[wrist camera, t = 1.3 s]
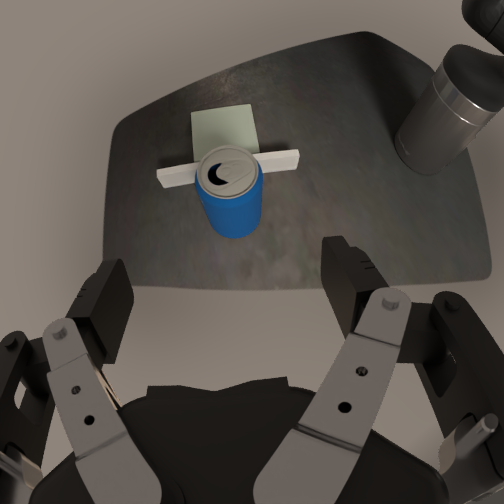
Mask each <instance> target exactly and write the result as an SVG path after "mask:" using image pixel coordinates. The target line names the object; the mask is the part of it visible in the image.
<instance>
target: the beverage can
mask: <svg viewBox="0 0 504 504" xmlns="http://www.w3.org/2000/svg"><path fill="white" fill-rule="evenodd" d="M262 184H263V173H262V169H261V166H260V164H259V163H258V161H257V160H256V159H255V157H254V156H253V155H252V154H251V153H250V152H249V151H248V150H246V149H244V148H242V147H240V146H236V145H223V146H219V147H216V148H214V149H212V150H210V151H209V152H207V153H206V154H205V155H204V156H203V157H202V159H201V160H200V162H199V164H198V167H197V170H196V173H195V186H196V189H197V192H198V194H199V197H200V199H201V202H202V204H203V207H204V209H205V211H206V214H207V216H208V219H209V221H210V224H211V226H212V227H213V229H214V230H215V231H216V232H217V233H219V234H220V235H222V236H224V237H227V238H241V237H244V236H246V235H248V234H250V233H251V232H252V231H253V230H254V229H255V228H256V227H257V225H258V223H259V221H260V216H261V201H262Z"/></svg>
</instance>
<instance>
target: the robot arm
mask: <svg viewBox="0 0 504 504" xmlns="http://www.w3.org/2000/svg"><path fill="white" fill-rule="evenodd" d="M462 14H463V18H464V20H465V21H466V22H467V23H468V25H469V26H470V27H471V28H472V29H474V30H475V31H476V32H477V33H478V34H479V35H481V36H482V37H483V38H485V39H486V40H487V41H488V42H489V43H491V44H492V45H493V46H494V47H495V48H497V49H498V50H499V51H500V52H502V54H504V0H463V1H462ZM503 107H504V56H498V55H492V54H489V53H486V52H483V51H481V50H479V49H476V48H473V47H470V46H467V45H462V44H459V45H454V46H452V47H451V48H450V49H449V51H448V52H447V54H446V55H445V57H444V59H443V61H442V62H441V64H440V66H439V67H438V69H437V70H436V72H435V74H434V75H433V77H432V79H431V80H430V82H429V83H428V85H427V87H426V88H425V90H424V91H423V93H422V94H421V96H420V97H419V99H418V101H417V102H416V104H415V105H414V107H413V108H412V110H411V111H410V113H409V114H408V116H407V117H406V119H405V120H404V122H403V123H402V125H401V126H400V128H399V129H398V131H397V133H396V135H395V139H394V140H395V147H396V150H397V152H398V154H399V156H400V157H401V159H402V160H403V161H404V163H405V164H406V165H407V166H409V167H410V168H411V169H412V170H414V171H416V172H418V173H420V174H423V175H433V174H436V173H437V172H439V171H440V170H441V169H442V168H443V167H444V166H447V165H448V164H449V163H450V162H451V161H452V160H453V159H454V158H455V157H456V156H457V155H458V154H460V153H461V152H462V151H463V150H464V149H465V148H466V147H467V146H468V145H469V144H470V143H471V142H472V141H473V140H474V139H475V138H476V135H477V134H478V133H479V132H480V131H481V130H482V129H483V127H485V125H487V123H488V122H489V121H490V120H491V119H492V118H493V117H494V116H495V115H496V114H497V113H498V112H499V111H500V110H501V109H502V108H503ZM321 281H322V285H323V288H324V290H325V292H326V294H327V297H328V299H329V302H330V304H331V306H332V308H333V311H334V313H335V316H336V318H337V320H338V323H339V325H340V328H341V330H342V333H343V335H344V338H345V342H344V344H343V346H342V348H341V350H340V352H339V354H338V356H337V357H336V359H335V361H334V363H333V365H332V366H331V368H330V370H329V372H328V374H327V376H326V377H325V379H324V381H323V383H322V384H321V386H320V388H319V390H318V391H317V393H316V392H313V391H311V390H307V389H304V388H299V387H291V386H289V385H288V380H287V377H279V378H271V379H262V380H253V381H249V382H246V383H242V384H239V385H236V386H233V387H229V388H226V389H222V390H218V391H209V390H203V389H197V388H191V387H186V386H181V385H177V386H148V389H147V394H146V396H144V397H141V398H138V399H135V400H133V401H131V402H129V403H127V404H125V405H122V404H121V402H120V400H119V399H118V397H117V395H116V394H115V392H114V390H113V388H112V386H111V385H110V383H109V381H108V379H107V377H106V375H105V374H104V372H103V371H102V366H103V364H115V360H116V357H117V354H118V350H119V347H120V343H121V341H122V337H123V334H124V331H125V328H126V325H127V322H128V319H129V316H130V313H131V310H132V307H133V303H134V294H133V289H132V286H131V284H130V281H129V278H128V275H127V272H126V269H125V266H124V263H123V261H122V260H121V259H112V260H104V261H102V263H101V265H100V267H99V268H98V270H97V272H96V273H93V274H92V275H91V276H90V277H89V278H88V279H87V280H86V281H85V282H84V284H83V286H82V288H81V291H79V293H78V295H77V298H75V300H74V302H73V304H72V305H71V307H70V309H69V311H68V313H67V315H66V317H65V318H61V319H58V320H56V321H54V322H52V323H51V324H50V325H49V326H48V327H47V328H46V329H45V330H44V333H43V337H41V338H37V339H33V340H30V341H29V340H28V339H27V337H26V335H25V334H24V333H23V332H22V331H14V332H12V333H10V334H8V335H7V336H5V337H4V338H3V339H2V341H1V342H0V504H465V503H467V502H469V501H480V500H483V499H484V498H486V497H488V496H490V495H492V494H493V493H495V492H497V491H499V490H500V489H502V488H503V487H504V354H503V353H502V351H501V350H500V348H499V346H498V345H497V343H496V342H495V340H494V339H493V337H492V336H491V334H490V333H489V331H488V330H487V328H486V327H485V325H484V324H483V323H482V321H481V320H480V318H479V317H478V316H477V314H476V313H475V311H474V310H473V309H472V307H471V306H470V305H469V303H468V302H467V301H466V300H465V299H464V298H463V297H462V296H461V295H459V294H457V293H454V292H449V291H443V292H439V293H438V294H436V295H435V297H434V300H433V302H432V304H429V303H413V302H411V300H410V298H409V297H408V296H407V295H406V294H405V293H404V292H402V291H401V290H398V289H395V288H390V287H389V286H388V284H387V283H386V281H385V280H384V278H383V277H382V275H381V274H380V273H379V271H378V270H377V268H375V265H374V264H373V263H372V262H371V260H370V258H369V257H368V256H367V254H366V253H365V252H364V251H362V250H360V249H359V248H357V247H350V246H349V245H348V243H347V242H346V240H345V239H344V237H343V236H332V237H324V238H323V240H322V255H321ZM450 352H451V353H450ZM451 354H452V355H451ZM452 356H453V357H452ZM453 358H454V359H453ZM454 360H455V361H454ZM455 362H456V363H455ZM396 363H414V365H415V368H416V370H417V372H418V374H419V377H420V379H421V381H422V384H423V386H424V388H425V391H426V393H427V395H428V398H429V400H430V403H431V405H432V408H433V410H434V412H435V415H436V418H437V420H438V423H439V426H440V428H441V431H442V433H443V436H444V439H445V440H444V441H443V442H442V444H441V445H440V448H439V452H438V453H439V454H438V457H439V471H437V470H436V469H434V468H433V467H432V466H430V465H429V464H427V463H425V462H424V461H422V460H420V459H419V458H417V457H415V456H414V455H412V454H411V453H409V452H407V451H405V450H404V449H402V448H401V447H399V446H398V445H396V444H395V443H393V442H391V441H390V440H388V439H386V438H385V437H384V436H382V435H380V434H379V433H377V432H376V431H374V430H373V429H371V428H372V425H373V423H374V421H375V418H376V416H377V413H378V411H379V408H380V406H381V403H382V401H383V398H384V395H385V393H386V390H387V387H388V384H389V382H390V379H391V376H392V373H393V370H394V367H395V364H396ZM20 381H21V382H22V384H23V385H24V386H25V387H26V391H25V394H24V397H23V399H22V402H21V406H20V408H19V409H18V408H17V407H16V405H15V401H14V395H15V392H16V389H17V387H18V384H19V382H20ZM55 405H56V407H57V410H58V413H59V415H60V418H61V421H62V423H63V426H64V429H65V431H66V434H67V436H68V438H69V441H70V443H71V446H72V448H73V450H74V451H73V452H72V453H71V454H70V455H68V456H67V457H66V458H65V459H64V460H63V461H62V462H61V463H60V464H59V465H58V466H56V467H55V468H54V469H53V470H52V471H51V472H50V473H49V474H48V475H47V476H46V477H44V478H43V475H42V472H41V465H42V459H43V455H44V450H45V445H46V441H47V436H48V432H49V428H50V424H51V420H52V416H53V412H54V409H55Z"/></svg>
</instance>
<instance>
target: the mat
mask: <svg viewBox="0 0 504 504" xmlns="http://www.w3.org/2000/svg"><path fill="white" fill-rule="evenodd" d="M191 122H192V138H193V153H194V163H196V162H200V160H201V159H202V157H203V156H204V155H205V154H206V153H207V152H209V151H210V150H212V149H214V148H216V147H219V146H223V145H236V146H240V147H242V148H244V149H246V150H248V151H249V152H250V153H251V154H259V153H260V150H259V145H258V140H257V135H256V130H255V125H254V120H253V115H252V110H251V105H250V104H245V105H237V106H229V107H222V108H215V109H209V110H203V111H197V112H191Z"/></svg>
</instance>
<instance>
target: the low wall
mask: <svg viewBox="0 0 504 504" xmlns="http://www.w3.org/2000/svg"><path fill="white" fill-rule="evenodd" d="M252 155H253V156H254V157H255V159H256V160H257V161H258V163H259V164H260V166H261V169H262V173H266V172H275V171H283V170H293V169H296V168H297V164H298V160H299V152H298V149H297V150H286V151H276V152H267V153H259V154H252ZM198 164H199V162H196V163H191V164H185V165H179V166H174V167H169V168H163V169H158V170H157V178H158V179H159V181H160V182H161V184H162V186H163V187H164V188H168V187H174V186H179V185H185V184H191V183H195V173H196V170H197V167H198Z"/></svg>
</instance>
